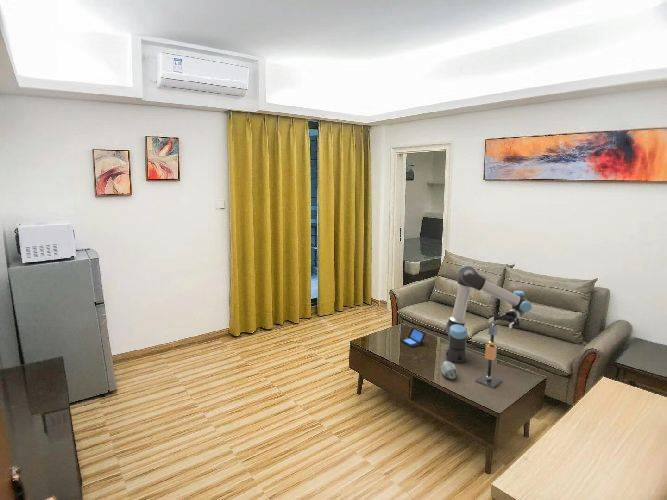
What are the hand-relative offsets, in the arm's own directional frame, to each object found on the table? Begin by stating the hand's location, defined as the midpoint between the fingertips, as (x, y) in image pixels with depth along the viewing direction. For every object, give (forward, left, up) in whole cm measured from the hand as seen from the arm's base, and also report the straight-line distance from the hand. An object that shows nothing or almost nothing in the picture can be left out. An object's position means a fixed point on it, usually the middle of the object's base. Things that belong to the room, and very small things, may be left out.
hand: (499, 323), depth 271 cm
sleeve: (+4, -20, -16) cm, 26 cm away
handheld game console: (-64, -4, -32) cm, 72 cm away
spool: (-18, -31, -32) cm, 48 cm away
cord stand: (+4, -20, -32) cm, 38 cm away
